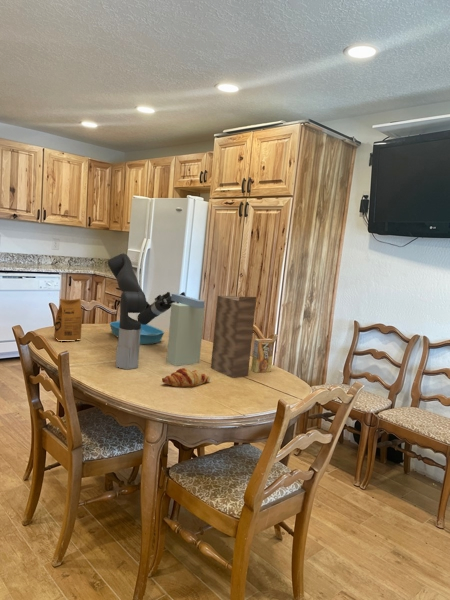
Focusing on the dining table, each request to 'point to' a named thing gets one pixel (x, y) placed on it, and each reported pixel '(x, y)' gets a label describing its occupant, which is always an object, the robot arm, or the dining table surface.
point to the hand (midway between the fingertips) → (177, 293)
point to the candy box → (262, 355)
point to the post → (233, 335)
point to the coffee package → (68, 320)
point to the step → (185, 334)
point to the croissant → (185, 378)
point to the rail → (187, 301)
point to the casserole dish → (142, 333)
